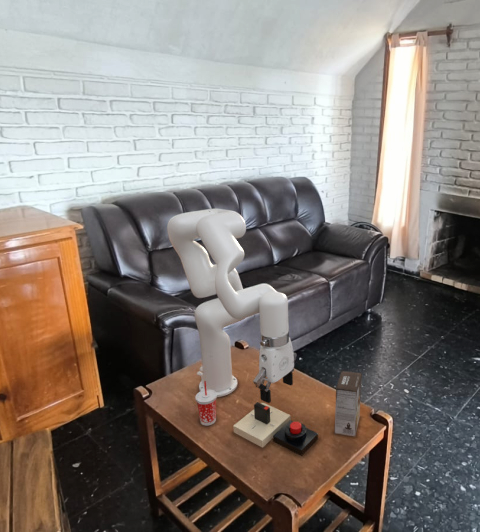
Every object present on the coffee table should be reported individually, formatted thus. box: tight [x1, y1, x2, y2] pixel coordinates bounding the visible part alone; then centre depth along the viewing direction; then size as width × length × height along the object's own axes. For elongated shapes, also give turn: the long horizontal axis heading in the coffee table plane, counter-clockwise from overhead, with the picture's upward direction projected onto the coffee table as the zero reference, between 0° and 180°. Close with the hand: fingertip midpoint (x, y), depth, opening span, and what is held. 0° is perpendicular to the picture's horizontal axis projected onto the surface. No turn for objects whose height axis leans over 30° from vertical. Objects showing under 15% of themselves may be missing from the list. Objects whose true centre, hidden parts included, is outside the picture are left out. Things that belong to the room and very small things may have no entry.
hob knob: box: [253, 401, 270, 424], centre depth 129 cm, size 5×2×5 cm, turn 58°
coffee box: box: [334, 370, 363, 437], centre depth 130 cm, size 9×6×16 cm
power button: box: [290, 421, 302, 434], centre depth 124 cm, size 3×3×2 cm
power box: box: [272, 419, 319, 457], centre depth 125 cm, size 10×8×4 cm
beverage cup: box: [195, 381, 218, 427], centre depth 130 cm, size 6×6×14 cm
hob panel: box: [232, 401, 291, 448], centre depth 130 cm, size 11×13×3 cm
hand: (277, 392), depth 123 cm, fingers open, 9 cm apart
